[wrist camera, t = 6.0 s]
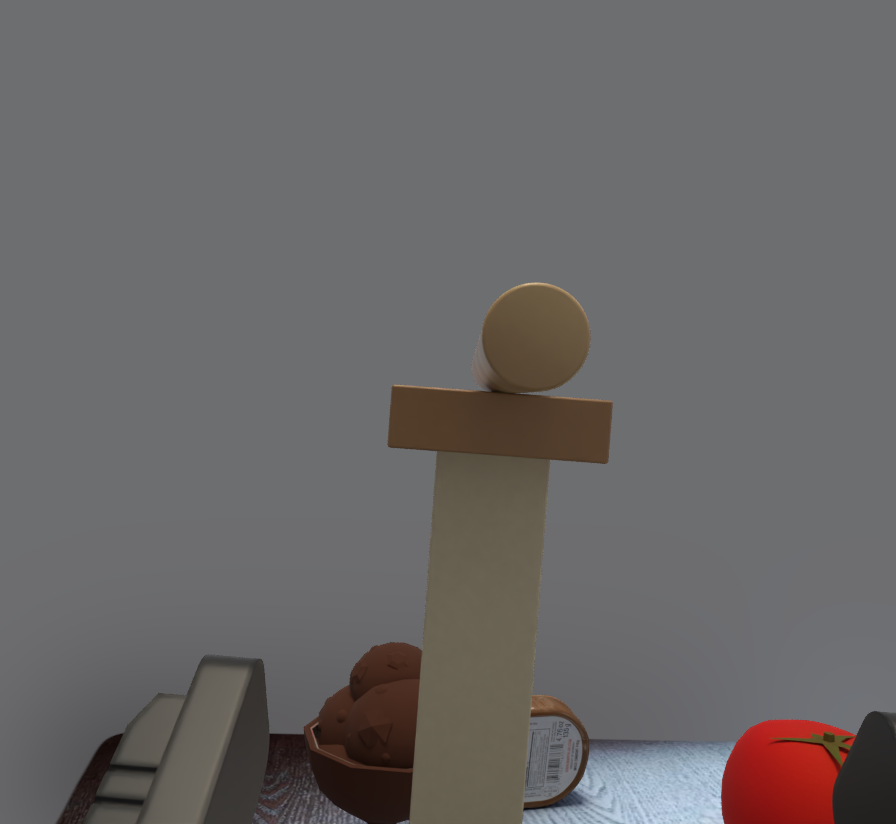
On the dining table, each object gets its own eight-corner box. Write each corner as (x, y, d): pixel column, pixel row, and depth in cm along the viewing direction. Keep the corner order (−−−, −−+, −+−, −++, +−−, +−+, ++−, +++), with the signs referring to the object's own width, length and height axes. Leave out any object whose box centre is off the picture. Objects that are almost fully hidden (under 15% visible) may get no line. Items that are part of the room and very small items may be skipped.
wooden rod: (572, 405, 18) (605, 300, 18) (468, 373, 18) (500, 268, 18) (514, 400, 38) (530, 350, 38) (464, 385, 38) (480, 335, 38)
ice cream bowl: (265, 858, 56) (281, 636, 56) (406, 820, 62) (421, 620, 62) (339, 950, 47) (359, 688, 47) (494, 895, 54) (512, 663, 53)
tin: (573, 789, 69) (580, 689, 69) (590, 808, 66) (599, 703, 66) (397, 803, 65) (405, 696, 65) (408, 824, 62) (416, 711, 62)
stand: (551, 1395, 27) (629, 402, 26) (303, 1373, 27) (375, 383, 26) (527, 1124, 37) (583, 400, 36) (346, 1108, 37) (399, 387, 36)
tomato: (758, 824, 66) (770, 680, 65) (956, 911, 56) (971, 742, 56) (676, 879, 57) (689, 713, 57) (892, 993, 47) (910, 793, 47)
